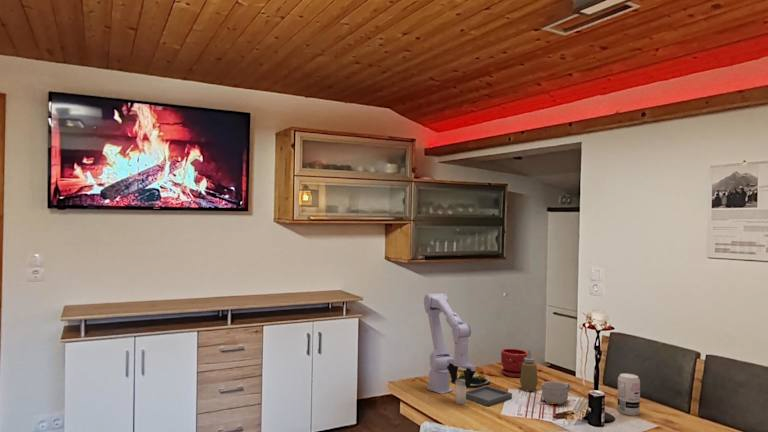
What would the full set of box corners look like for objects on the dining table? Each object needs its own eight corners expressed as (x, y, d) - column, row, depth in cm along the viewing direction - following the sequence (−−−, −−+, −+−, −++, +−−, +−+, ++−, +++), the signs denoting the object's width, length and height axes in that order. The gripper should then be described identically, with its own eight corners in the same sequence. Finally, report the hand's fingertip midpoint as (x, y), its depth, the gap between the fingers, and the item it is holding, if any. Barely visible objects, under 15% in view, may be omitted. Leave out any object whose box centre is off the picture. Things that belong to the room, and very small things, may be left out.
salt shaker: (452, 401, 228) (453, 380, 228) (460, 399, 231) (460, 378, 232) (461, 404, 225) (461, 383, 225) (468, 402, 228) (468, 381, 228)
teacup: (550, 408, 223) (550, 388, 223) (536, 399, 233) (536, 381, 233) (579, 405, 226) (579, 386, 226) (564, 397, 237) (564, 379, 237)
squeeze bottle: (536, 387, 250) (536, 348, 250) (539, 392, 242) (539, 353, 242) (518, 386, 251) (519, 348, 251) (521, 392, 243) (521, 352, 243)
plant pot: (523, 379, 262) (523, 355, 262) (497, 375, 269) (497, 351, 269) (530, 373, 273) (531, 350, 273) (505, 369, 280) (506, 346, 280)
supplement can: (620, 407, 224) (621, 371, 224) (642, 412, 219) (642, 375, 219) (615, 412, 218) (615, 375, 218) (636, 417, 213) (637, 379, 213)
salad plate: (439, 380, 260) (439, 371, 260) (464, 374, 271) (464, 365, 271) (469, 391, 245) (469, 380, 245) (494, 383, 256) (494, 374, 256)
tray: (463, 398, 234) (463, 392, 234) (486, 390, 244) (486, 385, 244) (488, 406, 223) (488, 400, 223) (511, 398, 233) (511, 393, 233)
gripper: (442, 350, 231) (442, 382, 231) (468, 357, 220) (467, 390, 220) (453, 348, 236) (453, 379, 236) (479, 354, 225) (478, 387, 225)
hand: (460, 384), depth 228 cm, fingers open, 7 cm apart
